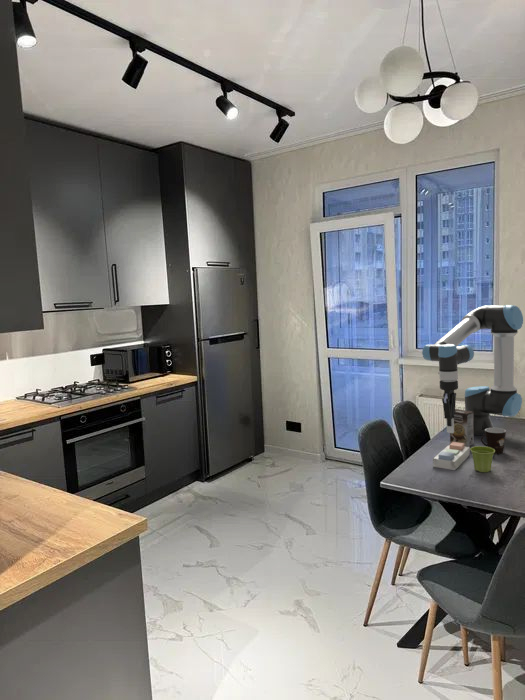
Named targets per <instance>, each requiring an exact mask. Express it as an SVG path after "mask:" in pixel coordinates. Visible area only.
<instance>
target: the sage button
mask: <svg viewBox="0 0 525 700" xmlns="http://www.w3.org/2000/svg"><path fill="white" fill-rule="evenodd" d="M445 452H451V453H454V455H456V456H457V455H458V454H459V453H460V452H459V450H454V449H447V450H446V451H445Z"/></svg>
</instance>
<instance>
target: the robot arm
mask: <svg viewBox="0 0 525 700" xmlns="http://www.w3.org/2000/svg"><path fill="white" fill-rule="evenodd" d="M523 324H524V316H523V313H522V310H521V309H520V307H519V306H517V305H514V304H512V305H511V304H499V305H498V304H494V305H490V304H489V305H488V304H487V305H482V306H479V307H477V308H475V309H473V310H470V312H468V313H467V314H466V315H464V316H463V317H462V319H461V321H460V322H459V323H458V324H456V325H455V326H454V327H453V328H452V329H450V330H449V331H448V332H447V333H446V334H445V335H443V336H442V337H441V338H440V339H438V340H437V341H436V342H435V343H433V344H431V343H430V344H425V345H424V346H423V348H422V353H421V354H422V357H423V359H424V360H426V361H431V362H438V367H439V369H438V370H439V372H437V373H438V375H439V376H438V377H439V389H440V390H442V391H444V392H443V395H442V396H443V397H442V398H441V401H442V407H443V416H444V417H443V418H444V419H445V420H446V433H447V434H450V433H454V418H456V416H454V415H455V409H456V399H457V392H455V391H456V390H458V389H459V375H458V374H459V372H458V365H461V364H465V363H468V362H470V361H472V360H474V356H475V352H474V349H473V348H472V347H471V346H470V345H467V344H462V345H460V344H461V343H462V342H463V341H465V340H466V339H467V338H468V337H469V336H470V335H472V334H474V333H476V332H479V330H484V329H485V330H490V333H491V335H492V336H493V337H494V345H493V347H494V353H493V355H494V356H493V357H494V358H493V366H494V368H493V385H492V386H491V387H489V386H488V385H487V386H485V385H481V386H472V387H467V388H466V389H465V391H464V410H466V411H472V412H473V436H483V435H486V434H485V429H487V428H494V425H493V422H492V420H491V417H490V416H491V415H496V416H502V417H509V418H511V417H512V418H513V417H516V416H517V414H518V413H519V412H520V410H521V407H522V403H523V398H522V395H521V394H519V393H518V392H517V391H518V388H516V387H515V385H514V365H515V363H514V362H515V360H514V358H515V356H514V355H515V352H514V351H515V336H516V335H517V334H518V332H519V331H518V330H520V329H521V328H522V327H523Z"/></svg>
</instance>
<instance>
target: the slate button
mask: <svg viewBox="0 0 525 700" xmlns="http://www.w3.org/2000/svg"><path fill="white" fill-rule="evenodd" d="M441 451H442V450H441ZM441 451H440V452H441ZM440 452H439V453H440ZM439 453H438V454H439ZM438 454H437V455H438ZM438 457H439V459H442V460H448V461H451V460H452V459H454V453H451V452H444V451H442V452H441V453H440V454H439V455H438Z"/></svg>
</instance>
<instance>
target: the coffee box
mask: <svg viewBox="0 0 525 700" xmlns="http://www.w3.org/2000/svg"><path fill="white" fill-rule="evenodd" d="M454 416H456V418H454V433H449V443H450V444H451V443H452V442H458V443H464V446H465V447H470V446H472V445H474V441H475V440H474V435H473V412H472V411H466V410H465V409H458V408H455V415H454Z"/></svg>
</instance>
